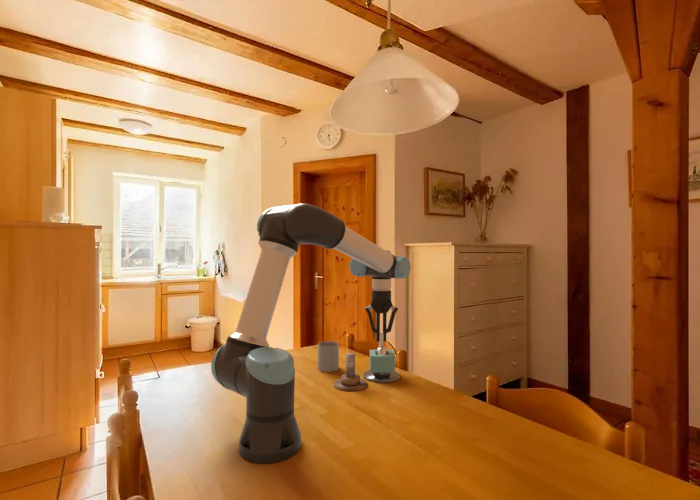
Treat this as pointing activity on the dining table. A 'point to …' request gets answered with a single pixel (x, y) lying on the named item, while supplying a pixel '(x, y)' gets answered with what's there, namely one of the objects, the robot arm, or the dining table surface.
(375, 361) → the teal square block
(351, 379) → the stand
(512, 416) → the dining table surface
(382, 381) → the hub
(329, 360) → the cup
